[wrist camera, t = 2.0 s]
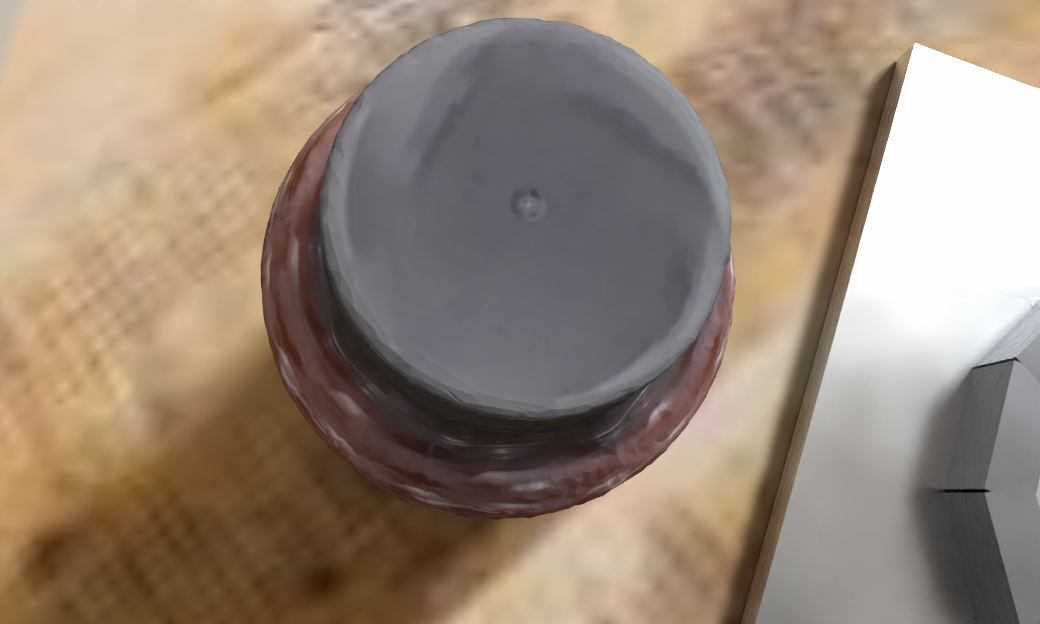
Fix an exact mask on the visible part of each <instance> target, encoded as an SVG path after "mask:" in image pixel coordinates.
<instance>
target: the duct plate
mask: <svg viewBox="0 0 1040 624" xmlns="http://www.w3.org/2000/svg"><path fill="white" fill-rule="evenodd" d="M741 624H1040V90H1039V89H1036V88H1033V87H1030V86H1028V85H1025V84H1022V83H1020V82H1017V81H1014V80H1012V79H1009V78H1006V77H1004V76H1001V75H998V74H996V73H993V72H990V71H987V70H985V69H982V68H979V67H977V66H974V65H971V64H969V63H966V62H963V61H961V60H958V59H955V58H953V57H950V56H947V55H944V54H942V53H939V52H936V51H934V50H931V49H928V48H926V47H923V46H920V45H918V44H914V45H913V46H912V47H910V48H909V49H908V50H907V51H906V52H905V53H904V54H903V55H902V56H901V57H900V58H898V60H897V63H896V67H895V70H894V74H893V78H892V81H891V85H890V88H889V92H888V96H887V99H886V103H885V106H884V110H883V114H882V117H881V121H880V124H879V128H878V132H877V135H876V139H875V142H874V146H873V150H872V153H871V157H870V160H869V164H868V167H867V171H866V175H865V178H864V182H863V185H862V189H861V193H860V196H859V200H858V203H857V207H856V211H855V214H854V218H853V221H852V225H851V229H850V232H849V236H848V239H847V243H846V247H845V250H844V254H843V257H842V261H841V265H840V268H839V272H838V275H837V279H836V282H835V286H834V290H833V293H832V297H831V300H830V304H829V308H828V311H827V315H826V318H825V322H824V326H823V329H822V333H821V336H820V340H819V344H818V347H817V351H816V354H815V358H814V362H813V365H812V369H811V372H810V376H809V380H808V383H807V387H806V390H805V394H804V398H803V401H802V405H801V408H800V412H799V415H798V419H797V423H796V426H795V430H794V433H793V437H792V441H791V444H790V448H789V451H788V455H787V459H786V462H785V466H784V469H783V473H782V477H781V480H780V484H779V487H778V491H777V495H776V498H775V502H774V505H773V509H772V513H771V516H770V520H769V523H768V527H767V530H766V534H765V538H764V541H763V545H762V548H761V552H760V556H759V559H758V563H757V566H756V570H755V574H754V577H753V581H752V584H751V588H750V592H749V595H748V599H747V602H746V606H745V610H744V613H743V617H742V620H741Z"/></svg>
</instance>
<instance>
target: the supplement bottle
mask: <svg viewBox="0 0 1040 624" xmlns="http://www.w3.org/2000/svg"><path fill="white" fill-rule="evenodd" d="M730 231H731V210H730V200H729V190H728V184H727V182H726V179H725V177H724V173H723V169H722V165H721V162H720V159H719V156H718V153H717V150H716V147H715V144H714V142H713V141H712V139H711V137H710V136H709V134H708V132H707V131H706V129H705V127H704V126H703V124H702V122H701V120H700V118H699V115H698V114H697V112H696V111H695V109H694V107H693V106H692V104H691V103H690V102H689V101H688V100H687V99H686V98H685V97H684V96H683V95H682V94H681V93H680V92H679V91H678V89H677V88H676V87H675V86H674V85H673V84H672V83H671V82H670V81H669V80H668V79H667V77H666V76H665V75H664V74H663V73H662V72H661V71H660V70H659V69H657V68H656V67H654V66H653V65H652V64H650V63H649V62H648V61H647V60H646V59H644V58H643V57H642V56H640V55H639V54H638V53H636V52H635V51H634V50H632V49H631V48H628V47H626V46H624V45H622V44H620V43H618V42H617V41H615V40H613V39H612V38H610V37H607V36H604V35H601V34H598V33H595V32H593V31H590V30H588V29H586V28H584V27H582V26H578V25H575V24H571V23H567V22H564V21H543V20H539V19H530V18H499V19H490V20H484V21H478V22H476V23H473V24H470V25H467V26H463V27H459V28H455V29H452V30H450V31H448V32H445V33H443V34H440V35H438V36H435V37H432V38H430V39H427V40H425V41H423V42H422V43H420V44H418V45H416V46H415V47H413V48H411V49H410V50H409V51H408V52H407V53H406V54H403V55H401V56H399V57H398V58H397V59H396V60H395V61H394V62H392V63H391V64H390V65H389V66H388V67H387V68H385V69H384V70H383V71H382V72H381V73H379V74H378V75H377V76H376V78H375V79H374V80H373V81H372V82H371V83H370V84H369V85H367V86H366V87H364V88H363V89H361V90H360V91H359V92H357V93H356V94H355V95H353V96H352V97H351V98H349V99H348V100H347V101H346V102H345V103H344V104H343V105H341V106H340V107H339V108H338V109H337V110H336V111H335V112H334V113H333V114H332V115H330V116H329V117H328V118H327V119H326V120H325V121H324V122H323V124H322V125H321V126H320V127H319V128H318V129H317V130H316V131H315V132H314V133H313V134H312V135H311V137H310V138H309V139H308V141H307V142H306V144H305V145H304V147H303V148H302V150H301V151H300V152H299V154H298V155H297V157H296V159H295V160H294V162H293V164H292V166H291V167H290V169H289V171H288V173H287V175H286V177H285V179H284V180H283V182H282V184H281V186H280V187H279V190H278V193H277V196H276V198H275V201H274V203H273V206H272V210H271V214H270V218H269V222H268V224H267V229H266V234H265V238H264V243H263V251H262V259H261V288H262V303H263V314H264V321H265V326H266V329H267V333H268V338H269V342H270V347H271V350H272V353H273V356H274V359H275V363H276V365H277V368H278V370H279V373H280V375H281V378H282V380H283V383H284V386H285V388H286V390H287V391H288V393H289V394H290V396H291V398H292V399H293V401H294V403H295V404H296V406H297V407H298V409H299V410H300V412H301V413H302V415H303V416H304V417H305V419H306V420H307V422H308V423H309V424H310V426H311V427H312V428H313V429H314V431H315V432H316V433H317V434H318V435H319V436H320V438H321V439H322V440H323V441H324V442H325V443H326V444H327V445H328V446H329V448H330V449H331V450H332V451H333V452H334V453H335V454H336V455H338V456H339V457H340V458H341V459H342V460H343V461H344V462H345V463H346V464H348V465H349V466H350V467H352V468H353V469H354V470H355V471H357V472H358V473H359V474H361V475H362V476H364V477H365V478H366V479H368V480H369V481H370V482H372V483H373V484H375V485H377V486H378V487H380V488H382V489H383V490H385V491H387V492H389V493H391V494H393V495H395V496H396V497H398V498H399V499H401V500H403V501H407V502H410V503H413V504H416V505H419V506H422V507H424V508H428V509H433V510H436V511H439V512H443V513H446V514H453V515H458V516H465V517H475V518H485V519H486V518H488V519H501V518H521V517H525V518H531V517H535V516H539V515H543V514H547V513H554V512H557V511H560V510H564V509H569V508H570V507H572V506H575V505H581V504H584V503H586V502H588V501H590V500H593V499H595V498H598V497H600V496H603V495H605V494H606V493H607V492H609V491H610V490H612V489H613V488H615V487H617V486H619V485H620V484H622V483H624V482H625V481H627V480H628V479H630V478H632V477H633V476H635V475H636V474H638V473H640V472H641V471H642V470H644V469H645V468H646V467H647V466H648V465H650V464H652V463H653V462H654V461H655V460H656V459H657V458H658V457H659V456H660V455H662V454H663V453H664V452H665V451H666V450H667V449H668V447H669V446H670V445H671V443H672V442H673V441H674V440H675V439H676V438H677V437H678V436H679V435H680V434H681V432H682V431H683V430H684V429H685V428H686V426H687V425H688V423H689V421H690V420H691V418H692V417H693V416H694V414H695V413H696V412H697V410H698V409H699V407H700V405H701V404H702V402H703V401H704V399H705V398H706V395H707V393H708V391H709V389H710V387H711V385H712V383H713V381H714V379H715V377H716V374H717V371H718V369H719V367H720V365H721V362H722V359H723V355H724V351H725V348H726V344H727V341H728V336H729V330H730V326H731V321H732V306H733V299H734V293H735V283H736V282H735V275H734V261H733V253H732V248H731V243H730Z"/></svg>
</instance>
